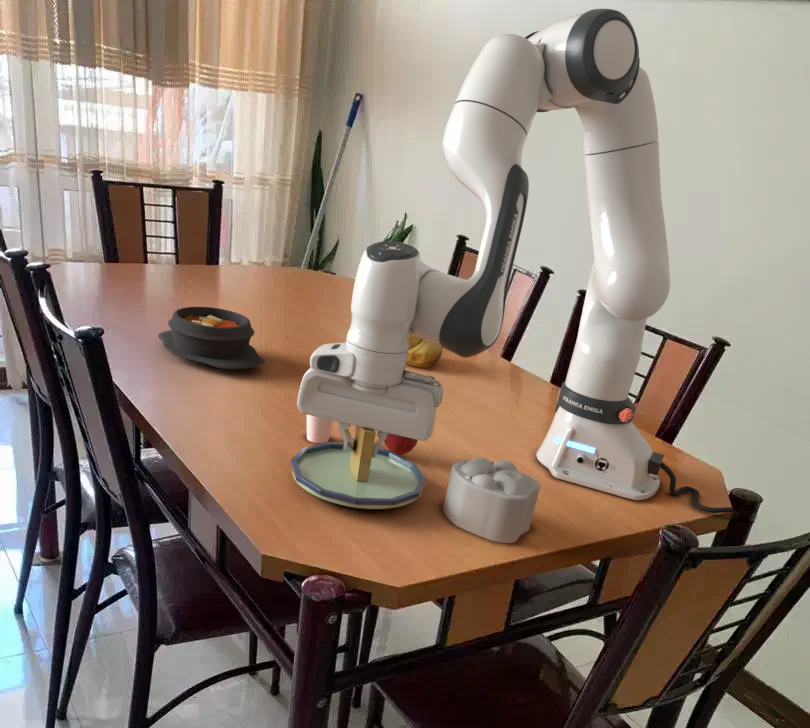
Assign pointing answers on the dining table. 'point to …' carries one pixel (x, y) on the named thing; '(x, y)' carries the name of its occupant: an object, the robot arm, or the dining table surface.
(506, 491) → the lumpy-topped squat cylinder
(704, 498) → the dining table surface
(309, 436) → the smoothie
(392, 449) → the onion
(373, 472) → the plate
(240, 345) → the casserole
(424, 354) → the bread roll
